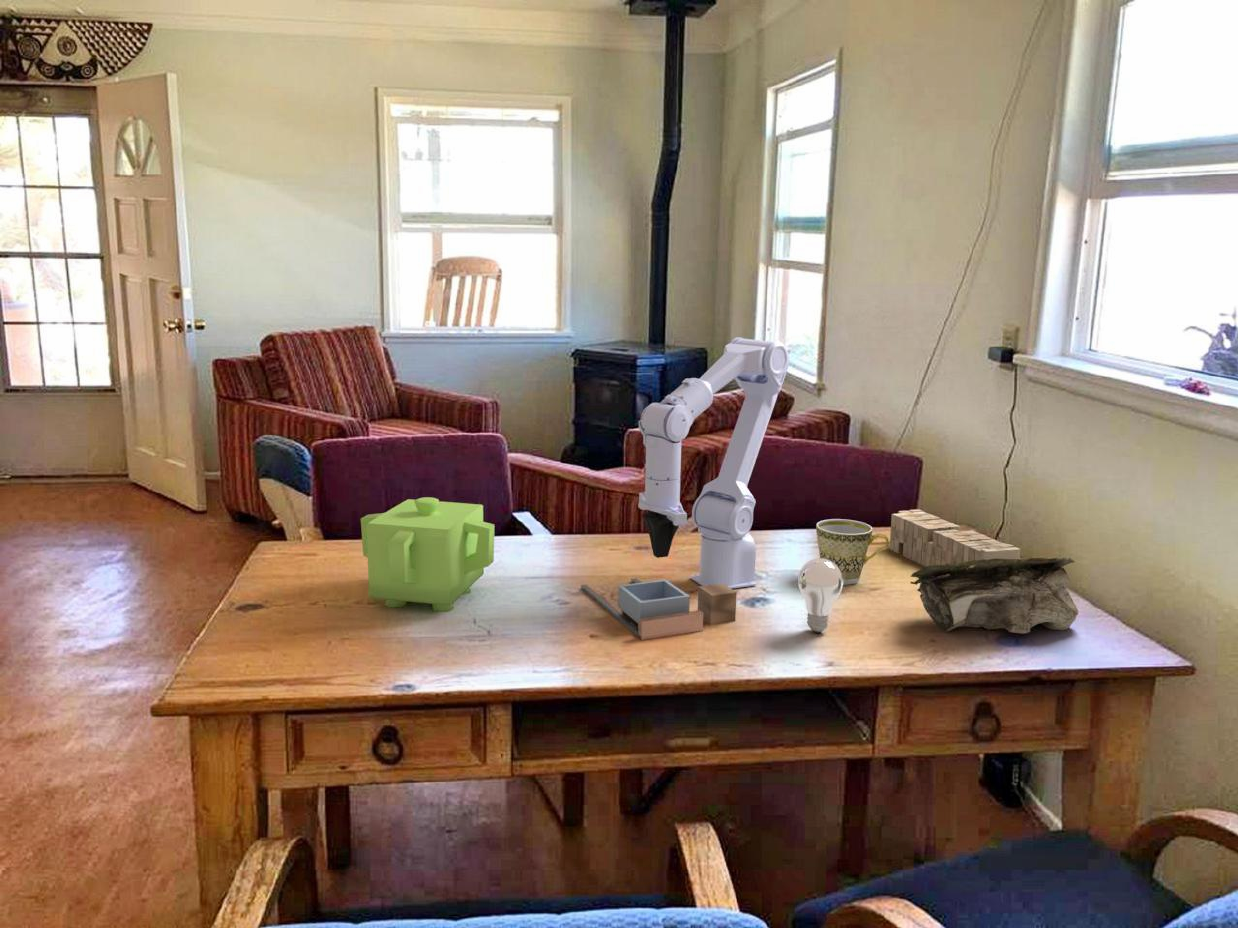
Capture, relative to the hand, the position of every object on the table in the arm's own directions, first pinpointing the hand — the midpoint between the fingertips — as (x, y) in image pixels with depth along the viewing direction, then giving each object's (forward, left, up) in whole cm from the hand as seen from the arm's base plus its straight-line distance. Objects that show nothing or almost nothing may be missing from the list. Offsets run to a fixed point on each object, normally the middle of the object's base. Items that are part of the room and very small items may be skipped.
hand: (660, 556), depth 168 cm
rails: (+4, +1, -8) cm, 9 cm away
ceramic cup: (-38, +1, -9) cm, 39 cm away
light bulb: (-18, +20, -9) cm, 28 cm away
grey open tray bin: (+4, +6, -8) cm, 11 cm away
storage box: (+35, -17, -9) cm, 40 cm away
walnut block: (-6, +9, -8) cm, 14 cm away
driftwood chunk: (-46, +28, -9) cm, 54 cm away
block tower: (-60, +1, -9) cm, 61 cm away
